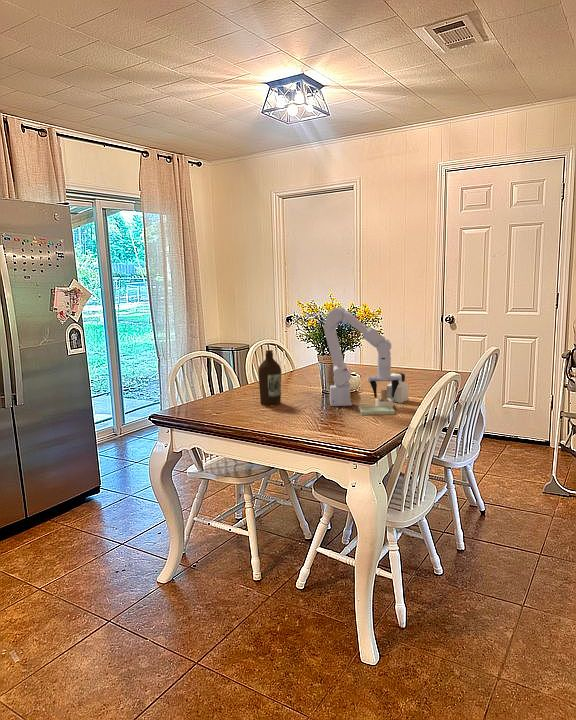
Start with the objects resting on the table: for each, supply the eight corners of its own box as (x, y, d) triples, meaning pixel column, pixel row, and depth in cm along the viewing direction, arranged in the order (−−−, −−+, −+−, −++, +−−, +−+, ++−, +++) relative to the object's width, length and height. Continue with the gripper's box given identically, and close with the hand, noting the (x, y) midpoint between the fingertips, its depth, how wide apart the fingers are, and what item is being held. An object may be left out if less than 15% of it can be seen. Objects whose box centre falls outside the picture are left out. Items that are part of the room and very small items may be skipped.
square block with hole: (377, 408, 237) (377, 402, 237) (375, 404, 244) (375, 398, 243) (392, 407, 237) (392, 401, 237) (389, 404, 244) (389, 398, 243)
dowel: (381, 407, 239) (381, 390, 238) (380, 405, 242) (380, 389, 241) (387, 407, 239) (387, 390, 238) (386, 405, 242) (386, 389, 241)
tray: (361, 414, 227) (361, 411, 226) (358, 409, 237) (358, 406, 236) (394, 414, 227) (394, 410, 227) (390, 408, 237) (390, 405, 236)
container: (393, 398, 256) (393, 371, 254) (408, 400, 252) (409, 372, 250) (386, 401, 250) (386, 373, 248) (401, 403, 246) (401, 375, 244)
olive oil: (255, 403, 252) (253, 350, 248) (274, 399, 258) (272, 348, 254) (266, 407, 243) (265, 352, 239) (286, 404, 249) (285, 350, 245)
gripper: (369, 369, 234) (369, 399, 236) (402, 368, 234) (402, 398, 236) (366, 366, 241) (366, 396, 243) (399, 365, 241) (398, 395, 243)
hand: (384, 397), depth 240 cm, fingers open, 7 cm apart
